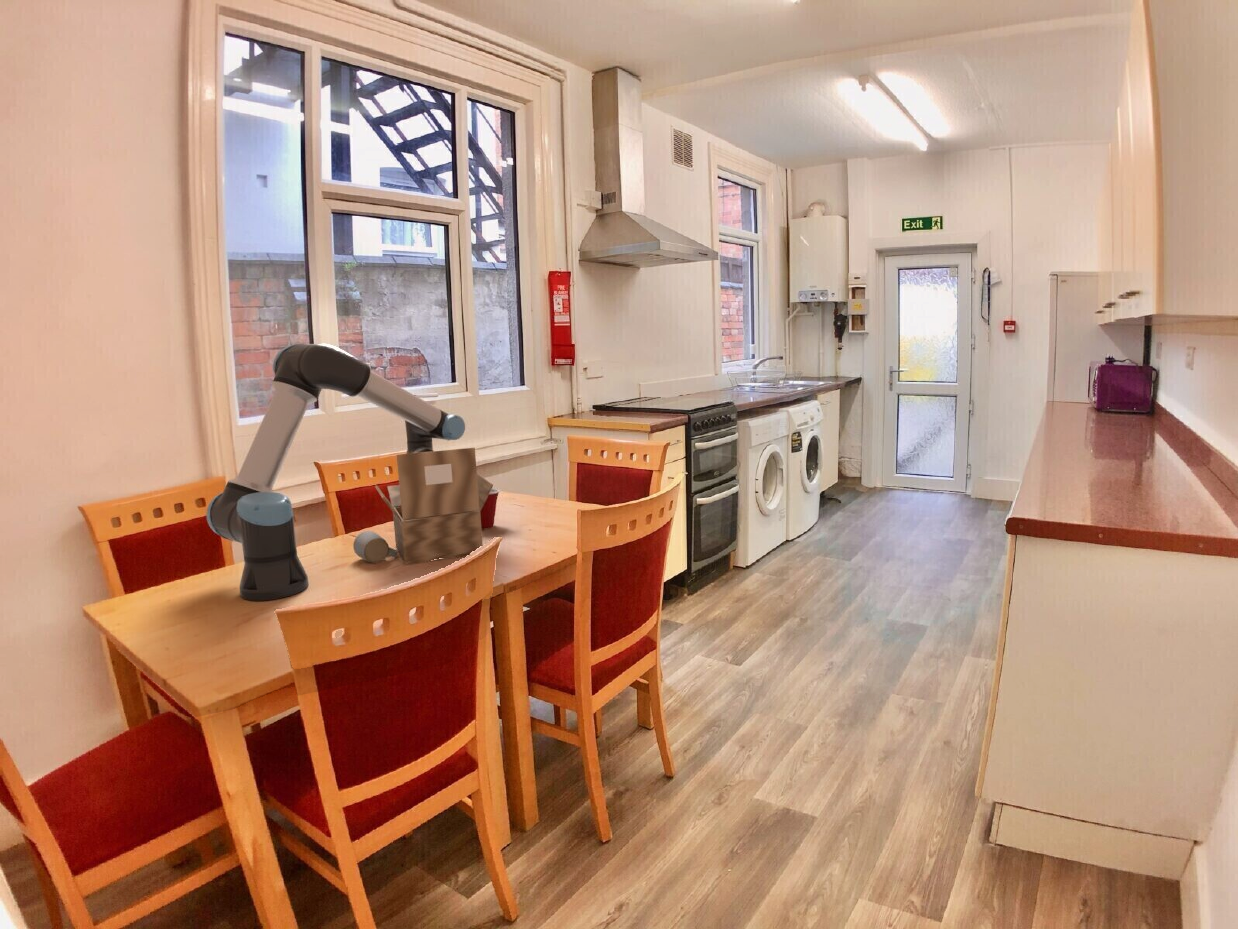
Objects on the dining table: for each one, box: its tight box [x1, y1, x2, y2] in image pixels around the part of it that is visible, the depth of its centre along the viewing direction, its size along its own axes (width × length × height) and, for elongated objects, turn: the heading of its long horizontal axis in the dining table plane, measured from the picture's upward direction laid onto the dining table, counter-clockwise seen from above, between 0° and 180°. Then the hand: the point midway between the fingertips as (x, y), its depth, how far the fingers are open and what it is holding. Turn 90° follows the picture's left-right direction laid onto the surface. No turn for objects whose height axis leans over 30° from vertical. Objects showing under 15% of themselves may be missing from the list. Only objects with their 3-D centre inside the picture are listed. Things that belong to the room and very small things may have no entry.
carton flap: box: [396, 447, 480, 520], centre depth 195 cm, size 20×17×1 cm
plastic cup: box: [480, 488, 501, 530], centre depth 230 cm, size 11×11×12 cm
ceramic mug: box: [352, 530, 399, 564], centre depth 200 cm, size 11×8×8 cm
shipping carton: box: [374, 474, 494, 566], centre depth 209 cm, size 30×26×19 cm
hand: (441, 474), depth 196 cm, fingers closed
